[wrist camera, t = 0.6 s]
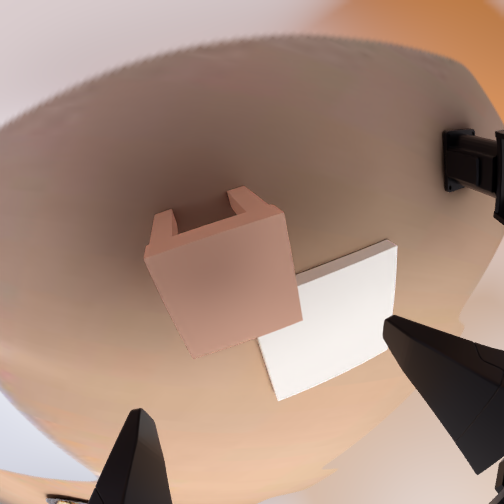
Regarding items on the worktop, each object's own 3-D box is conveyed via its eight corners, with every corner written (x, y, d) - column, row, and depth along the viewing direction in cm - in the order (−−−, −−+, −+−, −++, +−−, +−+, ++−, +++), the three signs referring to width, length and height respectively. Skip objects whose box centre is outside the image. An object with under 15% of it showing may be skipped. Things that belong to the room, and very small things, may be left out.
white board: (387, 239, 24) (397, 245, 22) (380, 342, 30) (387, 349, 29) (242, 293, 22) (247, 304, 21) (273, 391, 28) (278, 401, 27)
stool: (245, 184, 18) (284, 212, 12) (264, 265, 21) (302, 320, 15) (152, 213, 18) (143, 259, 11) (183, 292, 20) (193, 359, 14)
